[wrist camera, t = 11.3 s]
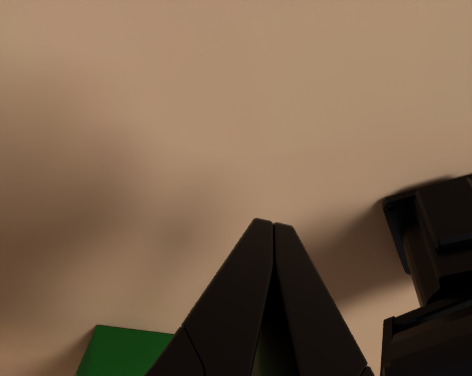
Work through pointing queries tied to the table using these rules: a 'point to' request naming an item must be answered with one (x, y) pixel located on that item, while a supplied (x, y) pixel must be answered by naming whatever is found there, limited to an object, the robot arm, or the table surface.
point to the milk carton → (121, 352)
